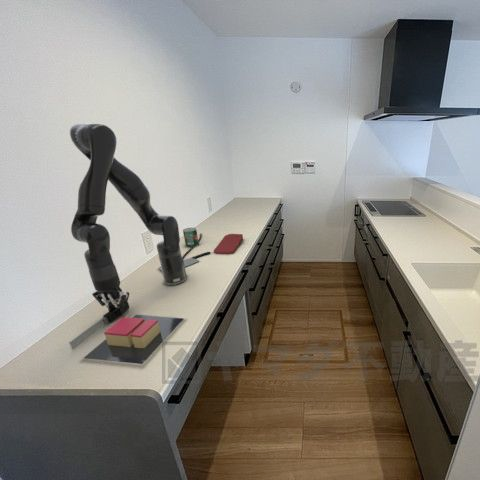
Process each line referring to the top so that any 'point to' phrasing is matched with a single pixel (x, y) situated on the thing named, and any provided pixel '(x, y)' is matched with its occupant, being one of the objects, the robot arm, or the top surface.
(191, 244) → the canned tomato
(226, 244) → the red slab
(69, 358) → the top surface
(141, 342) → the cake slice
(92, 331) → the knife
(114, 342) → the cake
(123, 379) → the top surface
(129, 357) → the slate board
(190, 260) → the cleaver
